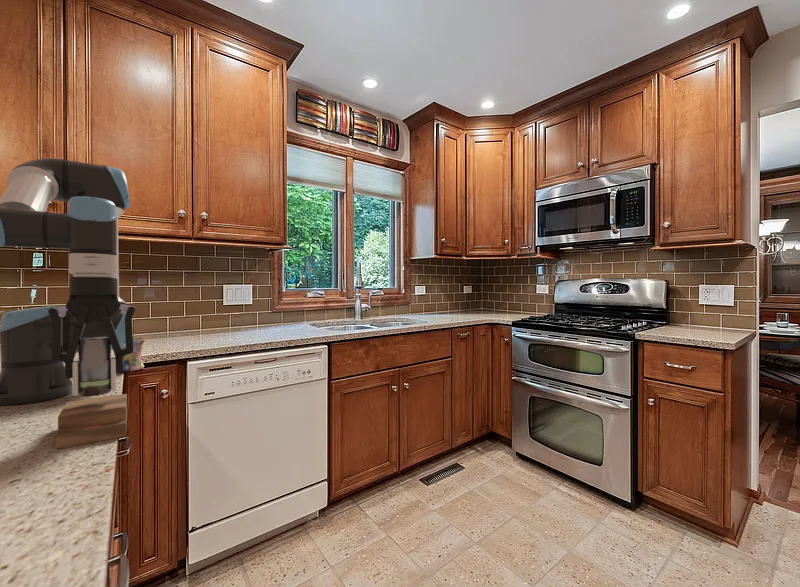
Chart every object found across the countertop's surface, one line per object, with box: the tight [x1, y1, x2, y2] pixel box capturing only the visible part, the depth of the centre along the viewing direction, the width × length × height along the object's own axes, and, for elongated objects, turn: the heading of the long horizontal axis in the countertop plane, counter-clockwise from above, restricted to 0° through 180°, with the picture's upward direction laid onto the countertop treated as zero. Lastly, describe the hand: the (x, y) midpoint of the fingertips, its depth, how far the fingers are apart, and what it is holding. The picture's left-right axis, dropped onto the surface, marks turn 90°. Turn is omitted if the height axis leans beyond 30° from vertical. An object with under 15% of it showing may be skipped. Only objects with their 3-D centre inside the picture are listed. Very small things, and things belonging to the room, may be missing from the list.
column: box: [78, 337, 112, 397], centre depth 75 cm, size 5×5×11 cm
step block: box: [55, 393, 128, 450], centre depth 75 cm, size 14×10×5 cm
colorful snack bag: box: [121, 337, 146, 373], centre depth 127 cm, size 12×9×11 cm
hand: (95, 391), depth 76 cm, fingers closed on column, 5 cm apart
